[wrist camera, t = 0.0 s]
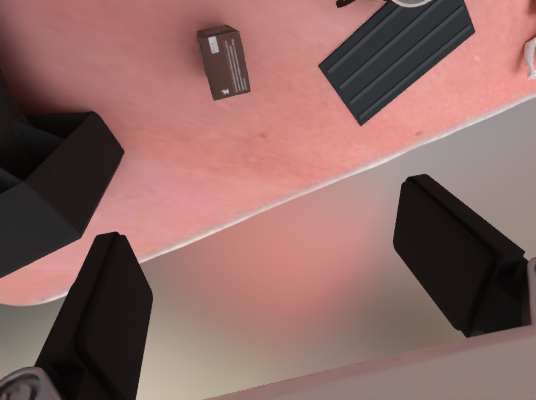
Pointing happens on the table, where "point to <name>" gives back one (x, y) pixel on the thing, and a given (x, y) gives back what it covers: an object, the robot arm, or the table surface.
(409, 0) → the coffee mug
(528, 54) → the person figurine
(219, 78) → the box
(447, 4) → the drying mat
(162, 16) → the table surface
